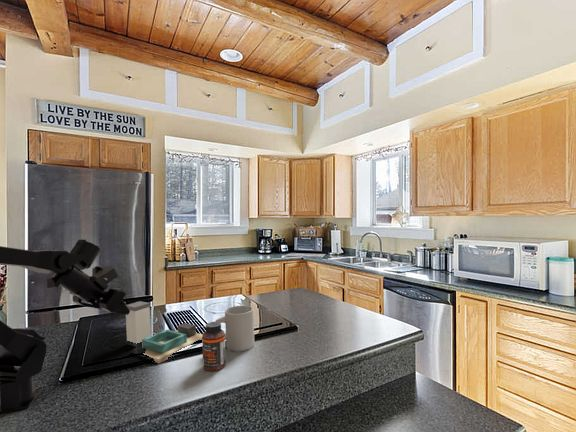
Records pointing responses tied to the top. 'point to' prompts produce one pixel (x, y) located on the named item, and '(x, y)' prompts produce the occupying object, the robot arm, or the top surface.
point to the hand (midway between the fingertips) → (119, 310)
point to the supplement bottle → (213, 347)
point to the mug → (238, 328)
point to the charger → (138, 322)
